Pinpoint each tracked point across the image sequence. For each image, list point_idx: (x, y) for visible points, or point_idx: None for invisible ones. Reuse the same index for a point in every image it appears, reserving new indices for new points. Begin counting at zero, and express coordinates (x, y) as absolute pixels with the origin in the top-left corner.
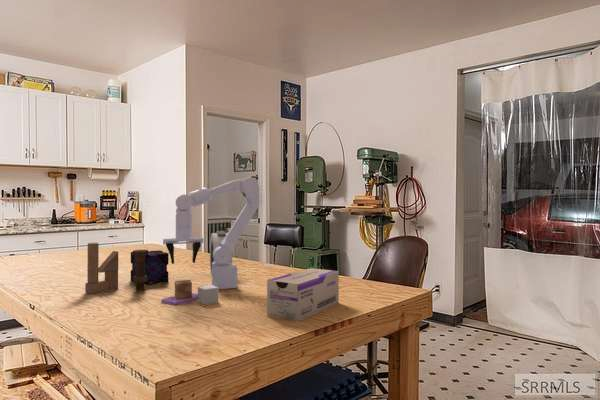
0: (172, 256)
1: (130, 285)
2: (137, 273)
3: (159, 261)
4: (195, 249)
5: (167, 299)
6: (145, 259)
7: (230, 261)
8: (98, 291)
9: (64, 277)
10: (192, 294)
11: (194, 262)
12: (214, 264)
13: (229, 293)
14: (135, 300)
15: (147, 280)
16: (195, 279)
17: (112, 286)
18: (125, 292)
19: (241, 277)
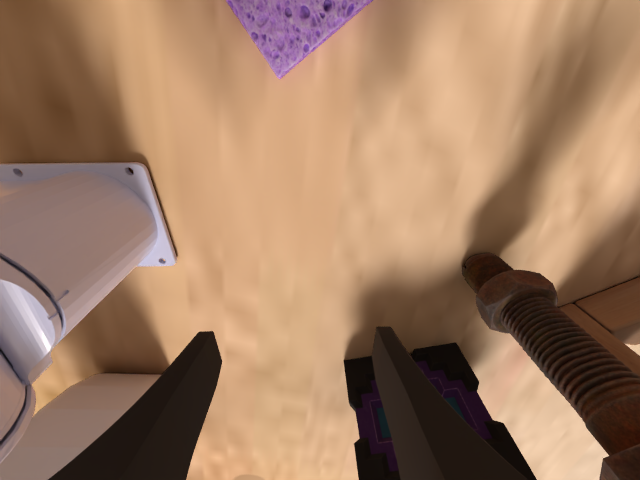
0: (416, 381)
1: (474, 354)
2: (562, 313)
3: None
4: (104, 476)
5: None
6: None
7: (22, 437)
8: (626, 285)
9: (577, 460)
10: (264, 7)
11: (202, 333)
12: (9, 271)
13: (14, 20)
14: (587, 56)
15: (425, 365)
16: (243, 378)
17: (572, 316)
18: (538, 258)
19: (55, 368)
